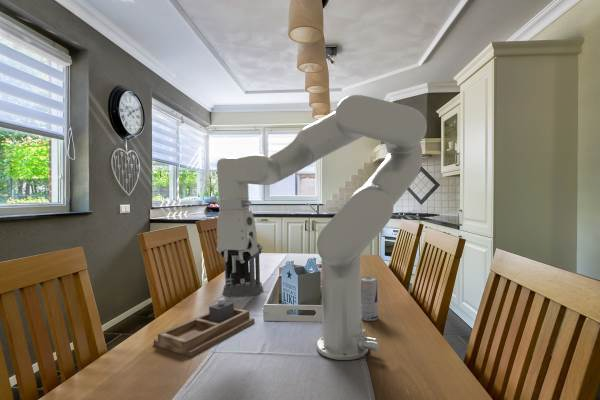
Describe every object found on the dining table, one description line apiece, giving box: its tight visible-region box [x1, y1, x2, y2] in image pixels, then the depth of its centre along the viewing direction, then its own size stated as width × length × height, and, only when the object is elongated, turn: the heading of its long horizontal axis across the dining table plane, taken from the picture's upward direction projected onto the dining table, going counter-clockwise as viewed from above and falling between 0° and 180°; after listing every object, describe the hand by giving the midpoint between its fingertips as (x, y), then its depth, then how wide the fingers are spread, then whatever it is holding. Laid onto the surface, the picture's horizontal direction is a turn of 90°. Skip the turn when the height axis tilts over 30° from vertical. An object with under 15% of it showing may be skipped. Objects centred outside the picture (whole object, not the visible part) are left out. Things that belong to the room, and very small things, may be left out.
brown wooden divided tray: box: [153, 307, 255, 358], centre depth 94 cm, size 14×24×3 cm, turn 149°
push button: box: [224, 250, 250, 285], centre depth 86 cm, size 7×5×10 cm
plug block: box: [208, 298, 235, 323], centre depth 98 cm, size 4×6×7 cm, turn 149°
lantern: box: [222, 241, 264, 298], centre depth 133 cm, size 17×17×35 cm
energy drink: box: [361, 276, 379, 322], centre depth 101 cm, size 5×5×12 cm
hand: (238, 276), depth 86 cm, fingers closed on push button, 3 cm apart
